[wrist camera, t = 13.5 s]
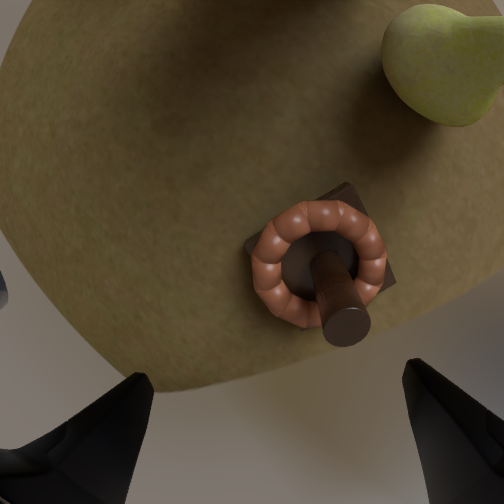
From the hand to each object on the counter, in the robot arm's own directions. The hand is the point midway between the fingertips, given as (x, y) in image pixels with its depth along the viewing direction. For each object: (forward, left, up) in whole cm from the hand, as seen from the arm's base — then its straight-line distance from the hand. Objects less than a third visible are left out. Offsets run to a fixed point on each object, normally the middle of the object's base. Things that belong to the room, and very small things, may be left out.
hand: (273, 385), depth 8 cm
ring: (+2, -1, -8) cm, 8 cm away
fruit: (+14, +6, -10) cm, 18 cm away
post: (+3, -1, -10) cm, 10 cm away
